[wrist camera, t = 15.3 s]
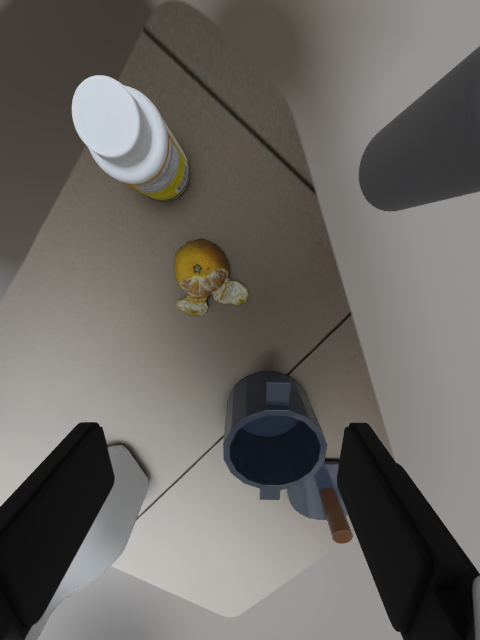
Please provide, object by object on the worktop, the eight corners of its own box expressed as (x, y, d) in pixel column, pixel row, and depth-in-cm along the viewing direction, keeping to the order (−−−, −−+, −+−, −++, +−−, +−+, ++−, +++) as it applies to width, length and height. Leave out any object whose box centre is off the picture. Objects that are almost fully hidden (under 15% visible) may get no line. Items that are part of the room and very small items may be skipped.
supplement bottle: (127, 148, 22) (38, 71, 13) (181, 132, 22) (131, 39, 12) (147, 208, 24) (82, 182, 14) (197, 195, 23) (166, 158, 14)
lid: (370, 458, 34) (399, 506, 28) (356, 513, 38) (379, 566, 31) (290, 456, 34) (301, 504, 28) (284, 511, 38) (293, 564, 31)
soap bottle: (71, 453, 34) (-220, 805, 13) (126, 435, 33) (-93, 789, 12) (105, 495, 37) (-88, 845, 15) (157, 480, 36) (27, 835, 14)
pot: (313, 353, 29) (337, 388, 22) (301, 452, 34) (316, 507, 27) (227, 351, 29) (222, 385, 22) (227, 450, 34) (223, 505, 27)
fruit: (185, 319, 28) (177, 330, 24) (159, 251, 25) (146, 252, 22) (250, 301, 27) (252, 309, 23) (230, 229, 24) (228, 226, 21)
